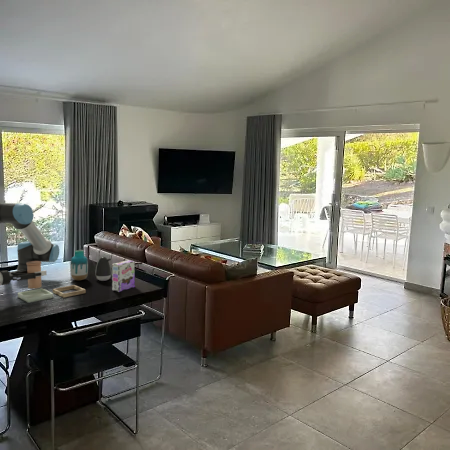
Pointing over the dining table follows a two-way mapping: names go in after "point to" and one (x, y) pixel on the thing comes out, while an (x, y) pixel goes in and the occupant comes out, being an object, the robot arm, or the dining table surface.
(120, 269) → the candy box
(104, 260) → the pump dispenser
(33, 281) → the canister
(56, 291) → the oak corral
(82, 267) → the vase
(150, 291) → the dining table surface
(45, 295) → the green tray
